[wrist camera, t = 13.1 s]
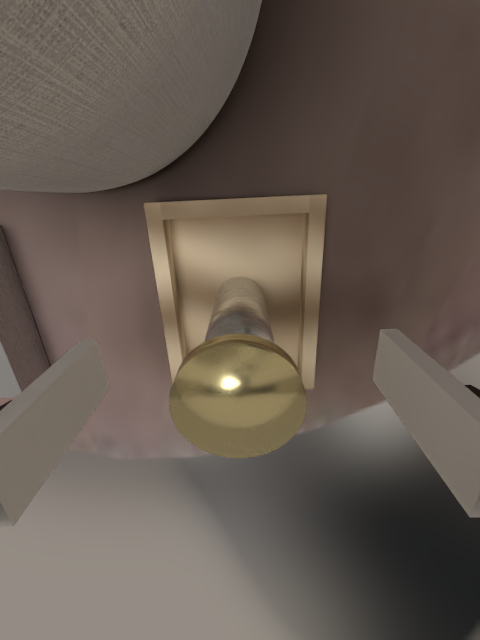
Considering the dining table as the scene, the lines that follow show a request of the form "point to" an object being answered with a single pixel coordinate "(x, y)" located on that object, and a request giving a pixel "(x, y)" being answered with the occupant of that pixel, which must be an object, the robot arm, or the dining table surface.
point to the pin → (238, 381)
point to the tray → (240, 267)
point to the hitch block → (17, 332)
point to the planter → (112, 86)
